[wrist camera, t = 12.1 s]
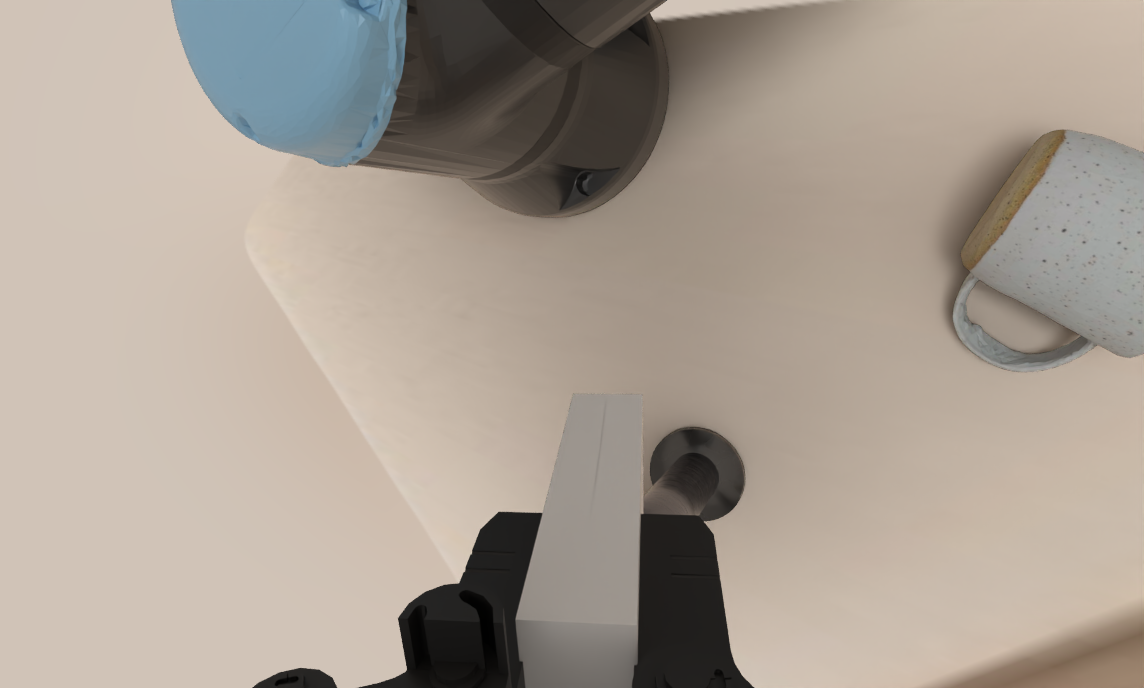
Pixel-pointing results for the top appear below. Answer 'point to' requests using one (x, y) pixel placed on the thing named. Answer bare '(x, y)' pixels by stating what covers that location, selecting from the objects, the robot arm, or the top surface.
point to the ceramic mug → (1064, 249)
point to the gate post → (694, 475)
